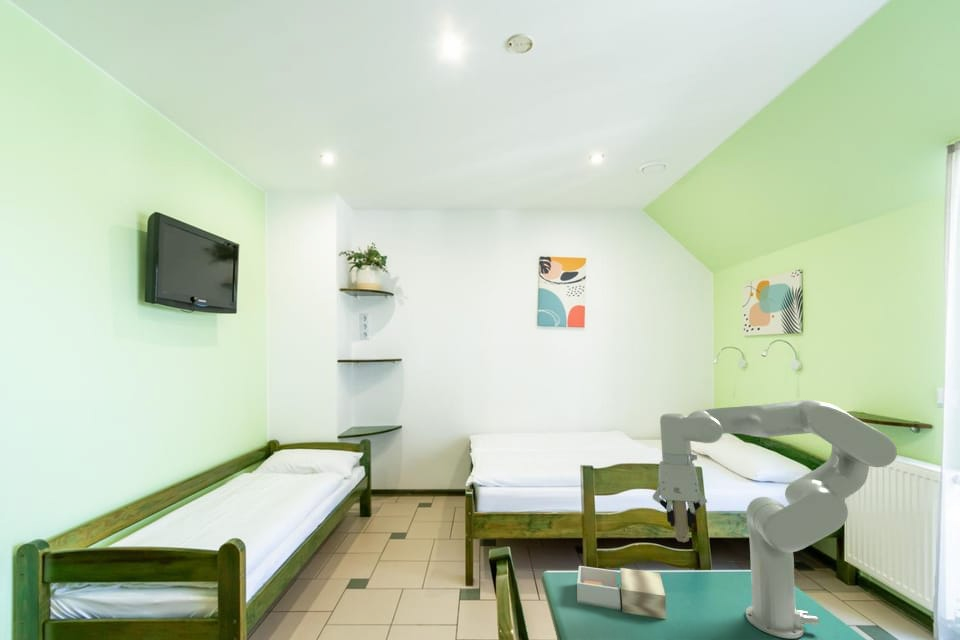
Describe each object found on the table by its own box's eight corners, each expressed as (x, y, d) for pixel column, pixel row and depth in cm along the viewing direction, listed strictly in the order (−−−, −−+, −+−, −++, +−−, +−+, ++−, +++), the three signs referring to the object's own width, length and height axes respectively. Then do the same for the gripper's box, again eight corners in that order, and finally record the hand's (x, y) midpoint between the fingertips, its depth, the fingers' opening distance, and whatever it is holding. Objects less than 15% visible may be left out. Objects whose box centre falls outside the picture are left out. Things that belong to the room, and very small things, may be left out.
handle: (697, 544, 117) (692, 487, 118) (673, 544, 118) (667, 487, 119) (691, 536, 122) (686, 482, 123) (667, 536, 123) (662, 482, 124)
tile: (584, 580, 128) (584, 589, 128) (584, 589, 123) (584, 598, 123) (601, 582, 126) (601, 591, 126) (602, 591, 122) (602, 601, 121)
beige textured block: (660, 594, 126) (659, 573, 126) (666, 619, 114) (665, 595, 115) (620, 588, 129) (620, 567, 129) (622, 612, 117) (622, 589, 118)
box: (619, 589, 128) (618, 571, 129) (620, 609, 118) (620, 589, 119) (579, 584, 131) (579, 565, 132) (577, 602, 122) (577, 583, 122)
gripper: (706, 456, 123) (710, 522, 122) (643, 454, 128) (647, 518, 126) (712, 463, 116) (717, 533, 114) (646, 460, 120) (650, 528, 119)
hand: (680, 524), depth 120 cm, fingers closed on handle, 4 cm apart
